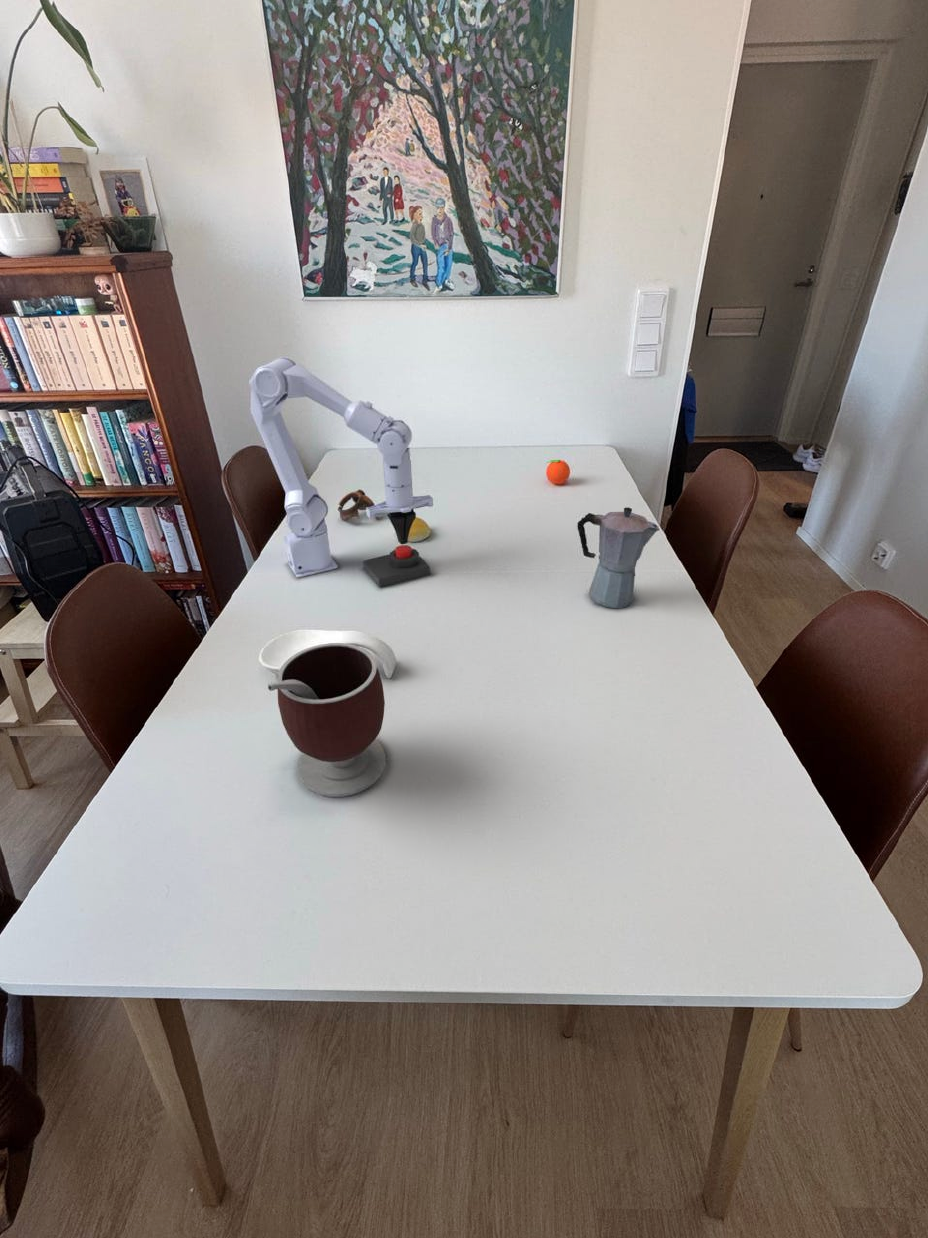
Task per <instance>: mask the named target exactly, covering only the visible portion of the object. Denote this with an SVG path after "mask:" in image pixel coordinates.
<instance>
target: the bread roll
mask: <svg viewBox="0 0 928 1238" xmlns="http://www.w3.org/2000/svg"><path fill="white" fill-rule="evenodd" d="M431 530H432V529H431V527H430V526H429V524H428V523H427V522H426V521H425V520H424V519H422V518H420V517H417V516H416V518H415V520H414V522H413V524H412V526H411V528H410V532H409V536H408V542H409V543H416V542H422V541H424V540H426V539H427V538H429V537H430V535H431ZM408 542H407V543H408Z"/></svg>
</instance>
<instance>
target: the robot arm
mask: <svg viewBox="0 0 928 1238" xmlns="http://www.w3.org/2000/svg"><path fill="white" fill-rule="evenodd" d="M248 384H249V387H250V390H251V391H250V407H249V408H250V414H251V416H252V418H253V421H254V423H255V425H256V428H257V429H258V432H259V435H260V437H261V439H262V442H263V443H264V447H265V448H266V451H267V453H268V456H269V458H270V460H271V463H272V465H273V468H274V469H275V472H276V474H277V477H278V480H279V482H280V483H281V486H282V488H283V490H284V493H285V498H284V510H285V513H286V524H287V527H288V528H289V530H290V531H291V532H289V533H285V534H283V535H284V536H283V537H284V539H283V540H284V545H285V550H286V556H287V561H288V562H287V564H288V566H289V567H290V569H291V570H292V572H293V574H294V576H295V577H296V578H302V577H307V576H311V575H314V574H315V575H316V574H319V573H323V572H327V571H331V570H336V569H338V568H339V566H338V564H337V563H336V562H335V561H334V559H333V558H332V553H331V545H330V540H329V533H328V526H327V523H326V520H325V518H326V517H327V516H328V513H329V506H328V503H327V501H326V500H325V499H324V497H322V496H321V495H320V493H319V491H318V489H317V487H316V486H314V485H313V484H311V483H310V482H309V480H308V477H307V474H306V472H305V470H304V466H303V465H302V462H301V460H300V457H299V454H298V452H297V450H296V447H295V445H294V443H293V441H292V438H291V435H290V433H289V430H288V427H287V425H286V423H285V420H284V417H283V415H282V413H281V412H282V411H281V410H282V408H283V407H284V404H285V403H286V400H287V399H297V398H308V399H310V400H312V401H314V402H315V403H317V404H319V405H321V406H323V407H324V408H326V409H328V410H330V411H332V412H334V413H335V414H337V415H339V416H340V417H342V418H343V420H344V422H345V425H346V427H347V428H349V429H351V430H352V431H354V432H355V433H357V434H359V435H360V436H362V437H364V438H365V439H366V440H368V441H370V442H372V443H373V444H374V445H375V444H376V445H377V449H378V450H379V452H380V453H381V454H382V468H383V469H382V470H383V478H384V479H383V481H384V491H385V492H384V494H385V501H382V502H380V503H377V504H374V506H371V507H367V508H366V510H365V511H366V512H365V513H366V517H367V519H369V520H374V519H375V518H376V517H378V516H379V517H383V516H387V518H388V519H389V521H390V523H391V525H392V528H393V529H394V531H395V534H396V537H397V541H398V543H399V544H400V545H406V544H408V536H409V532H410V528H411V526H412V524H413V522H414V520H415V518H416V517H417V513H416V511H414V510H416V509H421V508H425V507H428V508H432V507H434V498H433V496H431V495H429V494H427V495H416V496H414V493H413V492H414V490H413V474H412V460H411V450H410V449H411V448H410V447H409V446H410V444H411V443H412V439H413V433H412V430H411V428H410V427H409V425H408V424H406V422H405V421H404V420H402V419H394V418H393V416H390V415H389V416H386V415H385V414H384V413H382V412H380V411H378V410H377V409H376V408H374V407H373V403H372V402H370V401H368V400H367V401H365V402H364V401H363V400H357V401H352V400H350V399H349V398H348V397H346V396H344V395H343V394H342V393H340V392H339V391H337V390H335V388H333V387H331V386H330V385H329V384H327V383H326V382H324V381H323V380H321V378H318V377H317V376H316V375H314V374H313V373H312V372H310V370H309V369H307V367H305V366H304V365H302V364H300V363H296V362H295V360H294V359H292V358H290V357H287V356H280V357H279V356H278V357H277V358H275V359H274V360H273V361H271V362H269V363H266V364H265V365H261V366H259V367H258V368H256V370H255V371H254V372H253V374H252V376H251V377H250V379H249V382H248Z"/></svg>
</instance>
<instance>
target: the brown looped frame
mask: <svg viewBox="0 0 928 1238" xmlns="http://www.w3.org/2000/svg"><path fill="white" fill-rule="evenodd" d="M351 500H352V501H353V502H354V504H353V505H351V506H350V507H349V508H347V509H343V508H344V506H345V505H346V504H348V502H349V501H351ZM374 505H375V503H374V501H373V500H372V499H371V498H370V497H369V496H367V495H366V493H365V491H363V489H358V490H356V491H352V492H349V493H347V494H346V495H345V496H344V497H342V499H341V500H340V501H339V503H338V508H337V511H338V512H339V517H340V519H341V520H342V521H344V520H346V521H347V520H350V519H352V518H360V515H359V511H366V508H367V507H371V506H374ZM379 519H380V516H378V517H375V520H376V521H379Z"/></svg>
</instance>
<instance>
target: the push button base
mask: <svg viewBox="0 0 928 1238" xmlns="http://www.w3.org/2000/svg"><path fill="white" fill-rule="evenodd" d="M362 564H363V570H364V571H365V572H366V573H367V575H368V576H369V578H371V580H372V581H373V582H374V583H375V584H376V586H377V587H378V588H379V589H381V588H386V587H390V586H393V585H397V584H401V583H406V582H408V581H409V582H410V581H413V580H416V579H420V578H424V577H428V576H431V565H429V564H428V563H427V562H426V561H425V560H424V559H423V558H422V557H421V556H420V551H418V550H417V549H414V548H412V556H411V557H410V558H406V559H400V558H397V557H396V551H395V549H393V550H391V551H390V552H389V554H385V555H381V556H377V557H372V558H368V559H364V560H362Z"/></svg>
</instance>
